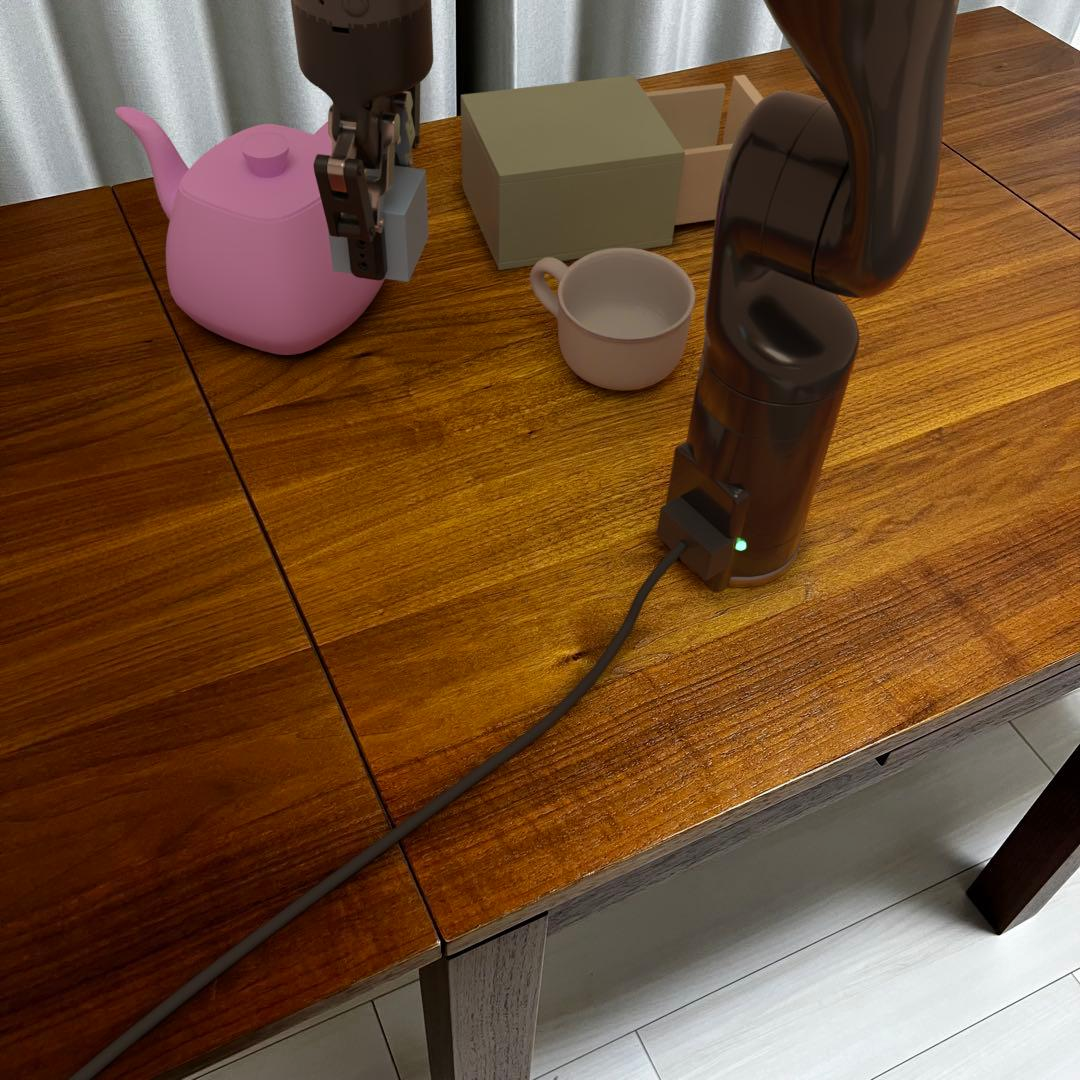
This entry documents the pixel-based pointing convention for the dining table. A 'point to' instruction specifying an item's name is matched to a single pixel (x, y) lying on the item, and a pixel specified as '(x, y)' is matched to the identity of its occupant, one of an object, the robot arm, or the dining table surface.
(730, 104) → the drawer
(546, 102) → the cabinet
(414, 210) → the block
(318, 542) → the dining table surface
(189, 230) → the teapot
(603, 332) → the teacup
